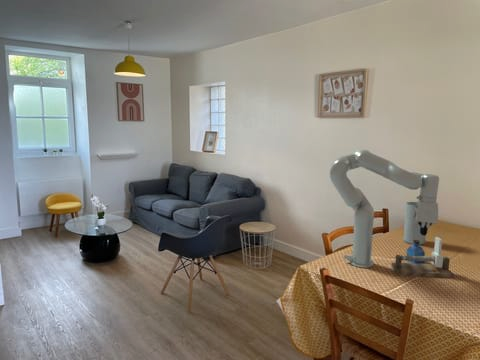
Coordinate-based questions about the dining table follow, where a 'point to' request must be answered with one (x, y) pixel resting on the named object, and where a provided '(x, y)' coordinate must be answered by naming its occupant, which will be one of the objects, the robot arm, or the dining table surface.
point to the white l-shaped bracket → (437, 253)
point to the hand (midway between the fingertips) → (423, 234)
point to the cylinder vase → (412, 225)
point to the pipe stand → (421, 267)
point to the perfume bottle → (415, 251)
